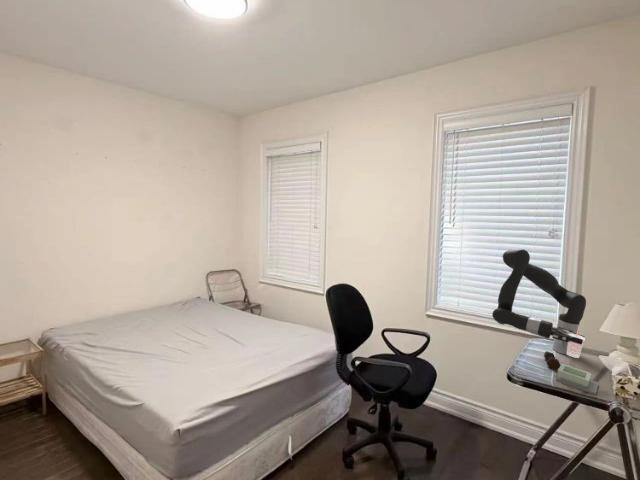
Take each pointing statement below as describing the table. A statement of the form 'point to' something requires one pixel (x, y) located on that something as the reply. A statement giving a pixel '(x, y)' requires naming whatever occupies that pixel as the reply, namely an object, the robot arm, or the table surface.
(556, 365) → the bolt
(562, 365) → the pale green square tray
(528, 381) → the table surface
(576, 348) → the beverage cup
